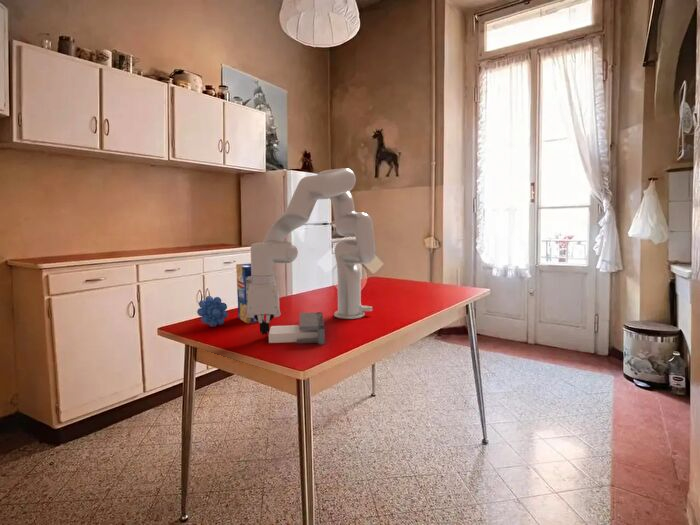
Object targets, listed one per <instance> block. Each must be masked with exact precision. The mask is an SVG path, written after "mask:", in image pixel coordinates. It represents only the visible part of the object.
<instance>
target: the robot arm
mask: <svg viewBox="0 0 700 525" xmlns="http://www.w3.org/2000/svg"><path fill="white" fill-rule="evenodd" d="M356 182H357V178H356V175H355V173H354V171H353V170H351V169H350V168H346V167H344V168H343V167H342V168H334V169H333V168H332V169H325V170H322V171H319V172H318V173H317V174H316V175H309V176H308V175H307V176H304V177H302V178H301V179H300V181H298V184H297V185H296V188H295V190H294V193H293V195H291V196H292V197H291V198H290V201H289V204H288V205H287V208H286V209H285V211H284V212H283V213H282V215H280V216H279V217H278V218H277V219H276V220H275V222H274V223H272V225H271V226H270V227H269V229H268V231H267V232H266V234H265V236H264V238H263V241H262V242H255V243H252V244H251V245H250V263H251V276H249V277H247V281H251V283H252V284H250V285H249V290H248V317H251V318H255V319H256V320H257V321H258V322H257V323H259V332H260V333H261V335H262V336H264V335H265V336H266V335H268V334H269V331H270V322H271V321H272V320H273V319H274V318H278V317H280V316H281V310H280V294H279V293H280V292H279V288H278V283H276V280H275V277H276V275H275V274H276V273H275V265H276V264H285V265H287V264H290V263H293V262H294V261H295V260H296V259H297V257H298V254H299V253H298V248H297V246H296V245H295V244H294V243H292V242H290V241H286V240H285V239H286V237H287V236H288V235H289V234H291V233H292V232H293V231H294V230H296V229H298V228H300V227H302V226H303V225H305V224H306V223H308V221H309V219H310V217H311V214H312V213H313V211H314V208H315V205H316V203H317V202H318V200H328V199H330V201H331V204H332V211H333V219H334V226H335V231H336V233H337V234H338V235H339V236H342V237H352V238H345V239H341V240H339V241H337V243H336V244H335V246H334V257H335V262H336V267H337V270H336V272H337V273H336V274H337V310H336V311H335V312H334V314H333V315H334V317H335V318H338V319H341V320H342V319H343V320H354V319H361V318H363V317H365V313H366V312H373V306H372V305H371V306H369V305H362V302H361V300H362V297H361V296H362V293H361V292H362V284H361V279H362V277H361V276H362V273H361V269H360V267H359V264H360V265H369V264H370V263H372V262H373V261H374V260H375V259H376V258H375V257H376V240H375V231H374V230H375V229H374V223H373V220H372V218H371V216H370V215H369V214H367V213H366V212H363V211H362V212H361V211H360V212H358V211H357V212H356V210H355V202H354V197H353V195H352V193H351V192H350V191H352V190H353V189H354V188H355V185H356ZM353 237H355V239H353ZM262 315H264V316H266V317H265V319H264V320H263V316H262Z"/></svg>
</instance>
